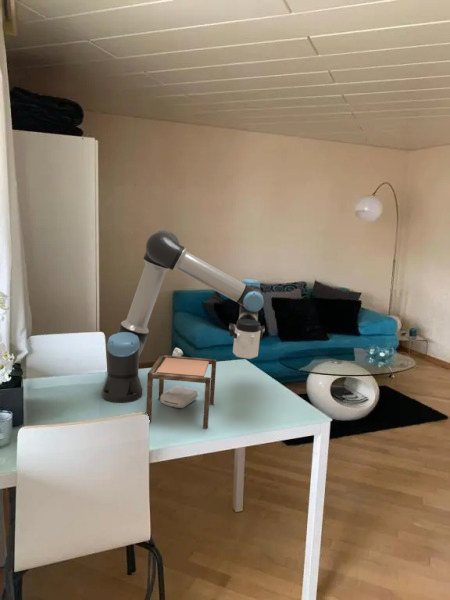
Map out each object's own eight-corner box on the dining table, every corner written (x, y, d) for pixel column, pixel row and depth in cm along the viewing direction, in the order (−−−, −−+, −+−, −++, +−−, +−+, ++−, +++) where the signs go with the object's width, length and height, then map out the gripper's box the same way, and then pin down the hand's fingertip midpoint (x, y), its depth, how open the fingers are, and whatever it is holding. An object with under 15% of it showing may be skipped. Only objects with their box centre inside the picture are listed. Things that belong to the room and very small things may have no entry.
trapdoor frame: (146, 422, 164) (147, 373, 160) (159, 398, 184) (160, 354, 181) (207, 428, 162) (210, 379, 159) (213, 403, 183) (216, 359, 179)
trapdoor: (156, 374, 163) (156, 371, 163) (165, 360, 178) (166, 357, 178) (203, 378, 162) (203, 375, 161) (208, 363, 177) (208, 361, 177)
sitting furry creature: (160, 372, 213) (161, 346, 211) (176, 369, 218) (178, 343, 216) (171, 378, 206) (172, 352, 204) (188, 375, 211) (189, 349, 209)
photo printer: (174, 394, 189) (157, 405, 178) (174, 383, 189) (157, 394, 178) (197, 399, 185) (181, 411, 174) (198, 389, 184) (181, 400, 173)
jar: (230, 356, 166) (233, 322, 164) (234, 349, 174) (238, 317, 172) (255, 360, 165) (259, 326, 162) (259, 353, 172) (263, 320, 170)
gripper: (269, 334, 186) (269, 352, 163) (224, 331, 187) (219, 348, 164) (270, 315, 184) (271, 331, 161) (226, 312, 185) (220, 327, 163)
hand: (245, 339), depth 163 cm, fingers closed on jar, 4 cm apart
